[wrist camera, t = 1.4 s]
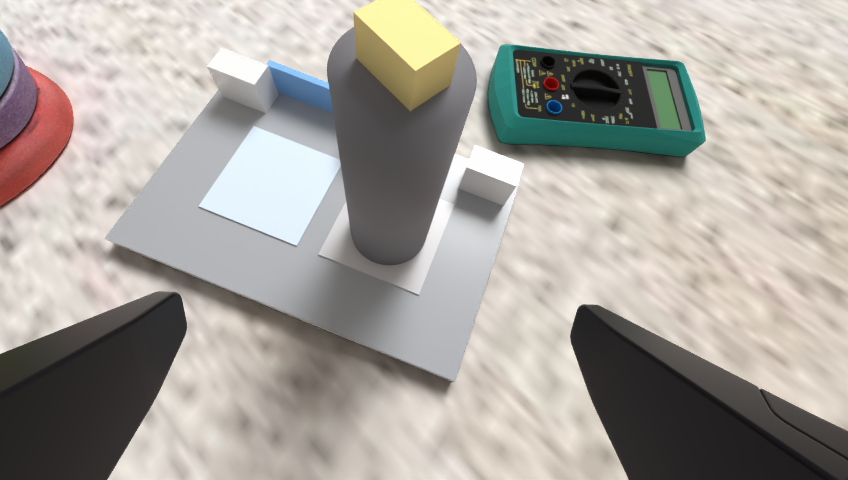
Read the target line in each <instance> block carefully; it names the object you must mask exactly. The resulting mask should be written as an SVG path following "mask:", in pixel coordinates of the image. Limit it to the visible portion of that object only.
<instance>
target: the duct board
mask: <svg viewBox="0 0 848 480" xmlns="http://www.w3.org/2000/svg"><path fill="white" fill-rule="evenodd" d="M207 68H208V70H209V72H210V73H211V75H212V77H213V79H214V81H215V83H216V85H217V87H218V89H219V90H218V91H217V93H216V94H215V95H214V97H213V98H212V99H211V100H210V102H209V103H208V104H207V106H206V107H205V108H204V110H203V111H202V112H201V113H200V115H199V116H198V117H197V119H196V120H195V121H194V123H193V124H192V125H191V126H190V128H189V129H188V130H187V132H186V133H185V134H184V136H183V137H182V138H181V139H180V141H179V142H178V143H177V145H176V146H175V147H174V149H173V150H172V151H171V152H170V154H169V155H168V156H167V158H166V159H165V160H164V162H163V163H162V164H161V165H160V167H159V168H158V169H157V171H156V172H155V173H154V175H153V176H152V177H151V178H150V180H149V181H148V182H147V184H146V185H145V186H144V188H143V189H142V190H141V191H140V193H139V194H138V195H137V197H136V198H135V199H134V201H133V202H132V203H131V204H130V206H129V207H128V208H127V210H126V211H125V212H124V214H123V215H122V216H121V217H120V219H119V220H118V221H117V223H116V224H115V225H114V227H113V228H112V229H111V230H110V232H109V233H108V234H107V236H106V237H105V239H107V240H108V241H110V242H112V243H114V244H116V245H118V246H120V247H123V248H125V249H128V250H130V251H133V252H135V253H137V254H140V255H142V256H145V257H147V258H150V259H152V260H155V261H157V262H160V263H162V264H164V265H167V266H169V267H172V268H174V269H177V270H179V271H182V272H184V273H186V274H189V275H191V276H194V277H196V278H199V279H201V280H204V281H206V282H209V283H211V284H213V285H216V286H218V287H221V288H223V289H226V290H228V291H231V292H233V293H235V294H238V295H240V296H243V297H245V298H248V299H250V300H253V301H255V302H258V303H260V304H262V305H265V306H267V307H270V308H272V309H275V310H277V311H280V312H282V313H284V314H287V315H289V316H292V317H294V318H297V319H299V320H302V321H304V322H307V323H309V324H311V325H314V326H316V327H319V328H321V329H324V330H326V331H329V332H331V333H333V334H336V335H338V336H341V337H343V338H346V339H348V340H351V341H353V342H356V343H358V344H360V345H363V346H365V347H368V348H370V349H373V350H375V351H378V352H380V353H382V354H385V355H387V356H390V357H392V358H395V359H397V360H400V361H402V362H405V363H407V364H409V365H412V366H414V367H417V368H419V369H422V370H424V371H427V372H429V373H431V374H434V375H436V376H439V377H441V378H444V379H446V380H449V381H451V382H453V381H455V379H456V376H457V373H458V370H459V367H460V364H461V361H462V358H463V355H464V352H465V348H466V345H467V342H468V339H469V336H470V333H471V330H472V327H473V324H474V321H475V318H476V315H477V312H478V309H479V306H480V302H481V299H482V296H483V293H484V290H485V287H486V284H487V281H488V278H489V275H490V272H491V269H492V266H493V263H494V260H495V257H496V253H497V250H498V247H499V244H500V241H501V238H502V235H503V232H504V229H505V226H506V223H507V220H508V217H509V214H510V211H511V207H512V204H513V201H514V198H515V195H516V192H517V189H518V186H519V183H520V180H521V179H519V178H520V175H521V172H522V169H523V166H524V164H523V163H520V162H518V161H515V160H513V159H510V158H507V157H505V156H502V155H500V154H497V153H495V152H492V151H489V150H487V149H484V148H482V147H479V146H476V145H475V147H474V149H473V152H472V155H471V157H470V159H467V158H465V157H462V156H459V155H457V154H454V157H453V160H452V163H451V166H450V169H449V172H448V175H447V178H446V181H445V184H444V187H443V190H442V193H441V196H440V199H439V202H438V205H437V208H436V211H435V214H434V217H433V220H432V223H431V226H430V229H429V232H428V235H427V238H426V241H425V243H424V246H423V247H422V249H421V250H420V252H419V253H418V254H417V255H416V256H415V257H413V258H412V259H410V260H409V261H407V262H404V263H401V264H397V265H382V264H378V263H375V262H372V261H370V260H369V259H367V258H366V257H364V256H363V255H362V254H361V253H360V252H359V251H358V249H357V248H356V246H355V245H354V242H353V240H352V236H351V230H350V223H349V217H348V210H347V203H346V197H345V190H344V183H343V177H342V170H341V163H340V157H339V150H338V143H337V137H336V130H335V123H334V117H333V110H332V103H331V97H330V90H329V83H327V82H325V81H322V80H319V79H317V78H314V77H312V76H309V75H306V74H304V73H301V72H299V71H296V70H293V69H291V68H288V67H286V66H283V65H280V64H278V63H275V62H273V61H270V60H269V62H268V63H267V64H264V63H261V62H258V61H256V60H253V59H251V58H248V57H245V56H243V55H240V54H238V53H235V52H233V51H230V50H227V49H225V48H221V49H220V50H219V52H218V53H217V54H216V55H215V57H214V58H213V59H212V60H211V61H210V63H209V64H208V65H207Z"/></svg>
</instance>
